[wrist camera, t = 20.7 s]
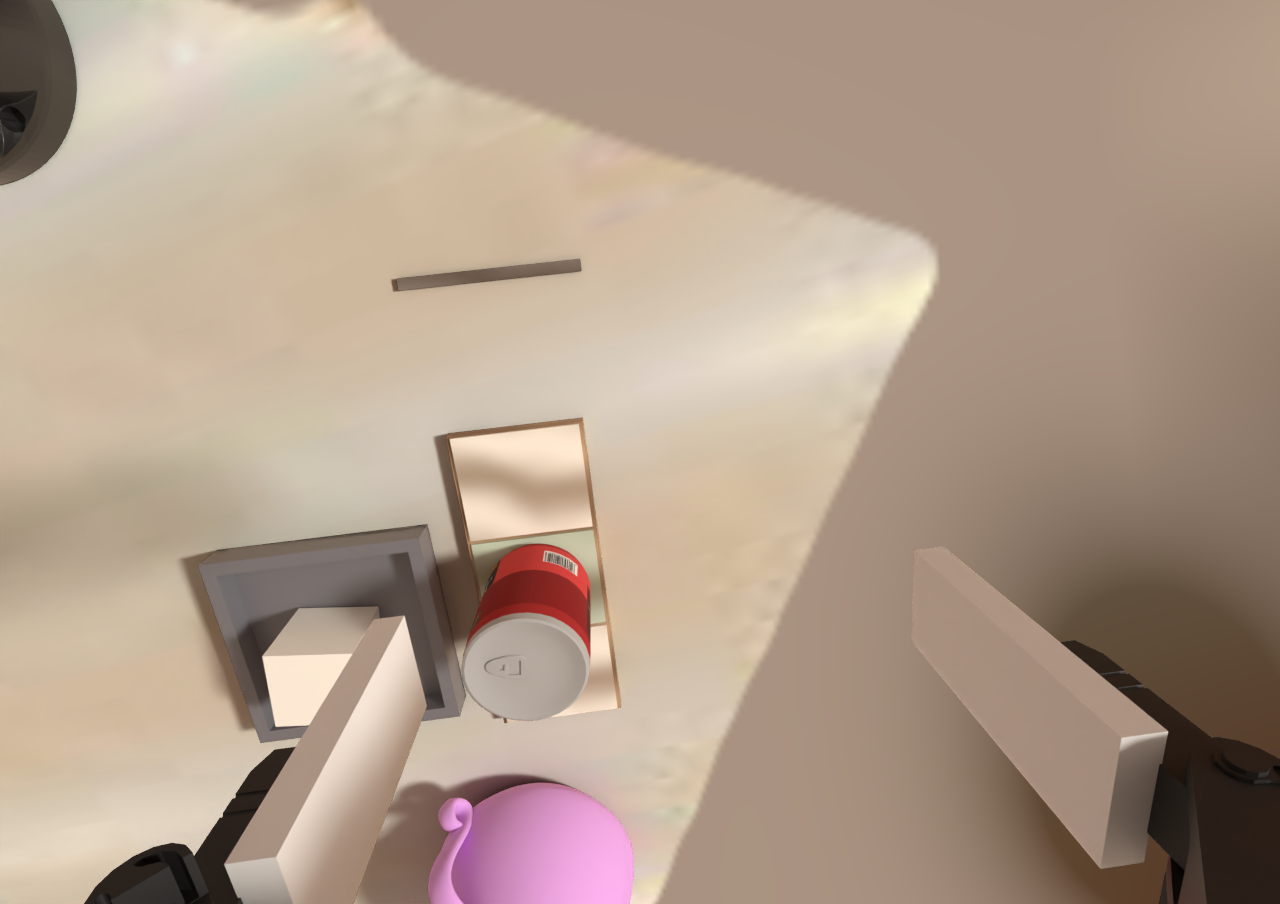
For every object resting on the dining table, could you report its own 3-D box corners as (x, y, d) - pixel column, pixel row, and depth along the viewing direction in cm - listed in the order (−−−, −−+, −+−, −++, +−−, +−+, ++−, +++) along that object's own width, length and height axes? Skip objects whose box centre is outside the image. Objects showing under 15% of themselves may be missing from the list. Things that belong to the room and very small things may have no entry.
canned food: (477, 552, 48) (444, 633, 38) (578, 530, 48) (574, 605, 38) (503, 635, 50) (479, 734, 40) (600, 614, 50) (602, 708, 40)
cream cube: (260, 656, 43) (273, 728, 45) (352, 653, 44) (362, 724, 46) (297, 607, 49) (308, 672, 51) (379, 605, 49) (386, 670, 51)
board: (397, 278, 43) (392, 278, 42) (580, 258, 43) (579, 258, 42) (490, 717, 54) (488, 727, 53) (635, 697, 54) (636, 707, 53)
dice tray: (217, 550, 48) (197, 565, 45) (427, 524, 48) (418, 538, 46) (275, 721, 53) (260, 742, 50) (465, 695, 53) (459, 716, 51)
